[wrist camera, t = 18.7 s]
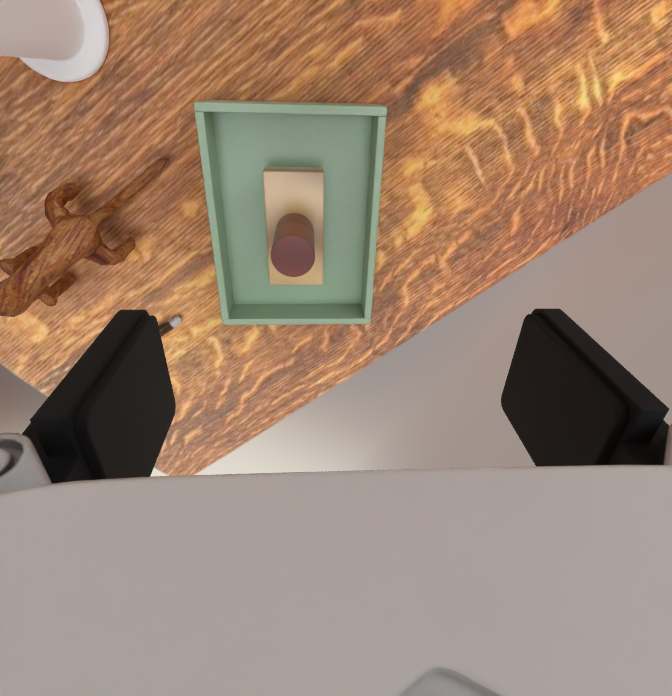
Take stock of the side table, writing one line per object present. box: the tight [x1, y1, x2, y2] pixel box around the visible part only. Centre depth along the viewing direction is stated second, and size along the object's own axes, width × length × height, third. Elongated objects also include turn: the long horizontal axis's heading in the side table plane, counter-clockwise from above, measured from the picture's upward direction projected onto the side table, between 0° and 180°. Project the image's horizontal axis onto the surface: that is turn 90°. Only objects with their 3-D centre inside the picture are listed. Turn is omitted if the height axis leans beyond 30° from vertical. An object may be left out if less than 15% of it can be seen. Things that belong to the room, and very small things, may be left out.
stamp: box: [263, 166, 324, 285], centre depth 33 cm, size 9×4×9 cm, turn 179°
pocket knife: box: [158, 316, 182, 336], centre depth 42 cm, size 14×1×2 cm, turn 120°
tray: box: [193, 99, 387, 325], centre depth 35 cm, size 17×13×4 cm
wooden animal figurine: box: [0, 159, 166, 317], centre depth 31 cm, size 18×7×14 cm, turn 127°
